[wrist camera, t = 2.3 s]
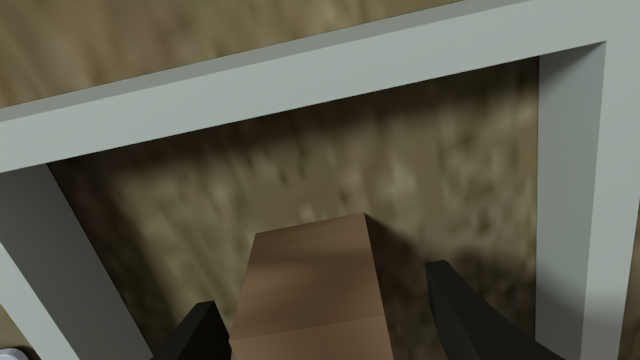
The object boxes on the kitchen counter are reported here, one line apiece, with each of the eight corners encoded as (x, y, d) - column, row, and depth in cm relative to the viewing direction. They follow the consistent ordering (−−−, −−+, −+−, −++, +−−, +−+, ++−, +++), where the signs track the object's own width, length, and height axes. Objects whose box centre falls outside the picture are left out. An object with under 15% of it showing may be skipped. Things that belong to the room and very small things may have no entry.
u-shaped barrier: (162, 419, 19) (137, 490, 16) (-21, 113, 13) (-113, 148, 10) (563, 357, 18) (608, 425, 15) (585, -28, 11) (672, -33, 8)
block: (283, 313, 16) (270, 437, 12) (255, 233, 15) (228, 341, 10) (381, 297, 16) (405, 418, 12) (363, 212, 14) (384, 315, 10)
